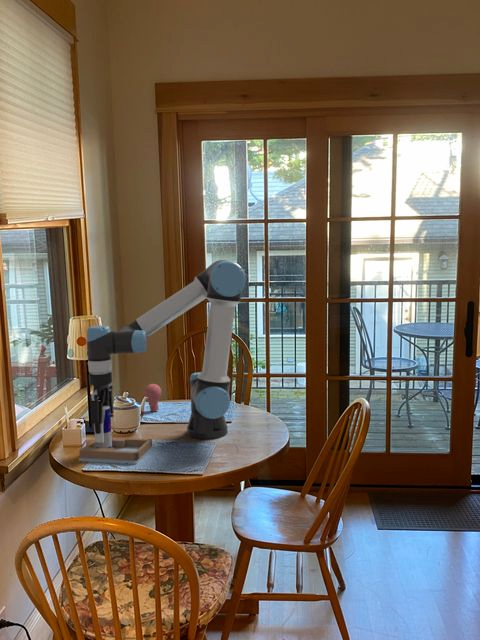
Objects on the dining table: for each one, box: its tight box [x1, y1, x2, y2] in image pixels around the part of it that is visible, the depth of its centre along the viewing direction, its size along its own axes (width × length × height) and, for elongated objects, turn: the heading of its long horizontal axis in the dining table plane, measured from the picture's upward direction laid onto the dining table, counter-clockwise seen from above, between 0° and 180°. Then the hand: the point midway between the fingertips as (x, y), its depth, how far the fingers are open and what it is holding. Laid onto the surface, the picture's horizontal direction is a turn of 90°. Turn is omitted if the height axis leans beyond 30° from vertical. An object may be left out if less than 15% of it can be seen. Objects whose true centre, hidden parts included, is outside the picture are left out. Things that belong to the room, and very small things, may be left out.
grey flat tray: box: [78, 437, 154, 465], centre depth 194 cm, size 20×16×3 cm
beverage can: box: [93, 406, 112, 448], centre depth 194 cm, size 6×6×15 cm
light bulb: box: [144, 383, 162, 412], centre depth 244 cm, size 7×7×12 cm
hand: (103, 439), depth 194 cm, fingers closed on beverage can, 5 cm apart
